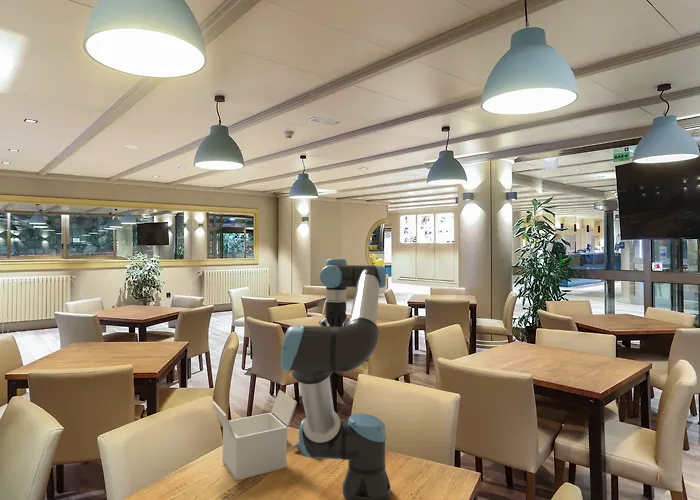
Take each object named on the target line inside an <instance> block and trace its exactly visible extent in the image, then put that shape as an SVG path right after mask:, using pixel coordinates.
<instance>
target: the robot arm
mask: <svg viewBox="0 0 700 500" xmlns="http://www.w3.org/2000/svg"><path fill="white" fill-rule="evenodd" d="M319 280H320V283H321V285H323V286H325V300H326V302H325V315H324V318H323V319H322V320H319V321H318V323H319V325H320V326H319V325H305V324H300V325H291V326H289V327H287V330H286V331H285V333H284V337H283V341H282V346H281V347H282V348H281V355H280V368H281V369H282V370H283V371H286V372H291V376H292V377H293V380H295V381H296V382H297V383H299V389H300V394H301V399H302V404H303V408H304V413H305V415H304V416H305V418H303V419H302V420H301V423H300V425H299V431H298V440H299V441H300V442H299V441H298V442H299V445H300V450H299V451H301V454H302V455H303V456H304V457H306V458H312V459H327V460H328V459H329V460H343V461H348V464H347V465H348V466H347V467H348V468H347V471H346V474H345V477H344V480H343V483H342V495H343V498H344V499H345V500H390V497H391V494H392V493H391V491H392V490H391V489H392V488H391V484H390V480H389V476H388V474H387V470H386V441H387V435H386V425H385V423H384V422H383V421H382V420H381V419H380V418H378V417H376V416H375V415H371V414H367V413H354V414H351V415H350V416H349V418H348V419H341V418H340V416H339V415H338V414H337V412H336V411H335V409H334V402H333V400H334V399H333V393H332V386H331V385H332V384H331V380H330V379H331V377H330V376H331V375H332V374H333V373H339V374H340V373H348V372H350V371H354V370H356V369H358V368H359V367H361V366H362V365H363V364H364V363H365V362H366V361H368V360H369V358H370V357H372V354H373V353H374V352H375V350H376V348H377V346H378V343H379V335H380V330H379V327H378V325H377V317H378V316H377V315H378V306H379V294H380V289H383V288H385V287H386V284H387V268H386V267H385V266H383V265H376V264H373V265H361V264H360V265H359V264H358V265H355V264H354V265H350V264H347V259H344V258H328V259H326V264H325V266H324V267H323V268H322V269H321V271H320V274H319ZM347 288H355V290H354V296H353V301H352V307H351V312H350V316H349V317H348V315H347V302H346V301H347Z"/></svg>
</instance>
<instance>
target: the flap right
mask: <svg viewBox="0 0 700 500" xmlns="http://www.w3.org/2000/svg"><path fill="white" fill-rule="evenodd" d="M274 400H275V401H274V403H273V406H272V409H271V411H270V413H271V412H272V413H273V414H274V415H275V416H277V417H278V418H279V419H280V420H281V421H282V422H284V423H285V426H286V427H289V426H290V424H291V421H292V418H293V415H294V412H295V410H296V407H297V404H298V401H297V400H295V399H293V398H292V397H291V396H289V395H288V394H287V393H285V392H284V391H282V390H280V389H278V392H277V395H276V397H275V399H274Z"/></svg>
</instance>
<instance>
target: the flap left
mask: <svg viewBox="0 0 700 500" xmlns="http://www.w3.org/2000/svg"><path fill="white" fill-rule="evenodd" d="M212 404H213V407H214V409H215V412H216V414H217V417H218V418H219V421H220V423H221V424H222V427H223V426H224V427H225V428H226V429H227V430H228V432H229V433H230V434H231V435H232V437H233V438H235V435H234V433H233V430H232V428H231V425H230V423H229V421H230V420H229V419H228V415H227V414H226V413H225V412H224V411H223V409H222V408H221V407H220V406H219V405H218V404H217V403H216V402H215V400H214V401H212Z"/></svg>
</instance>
